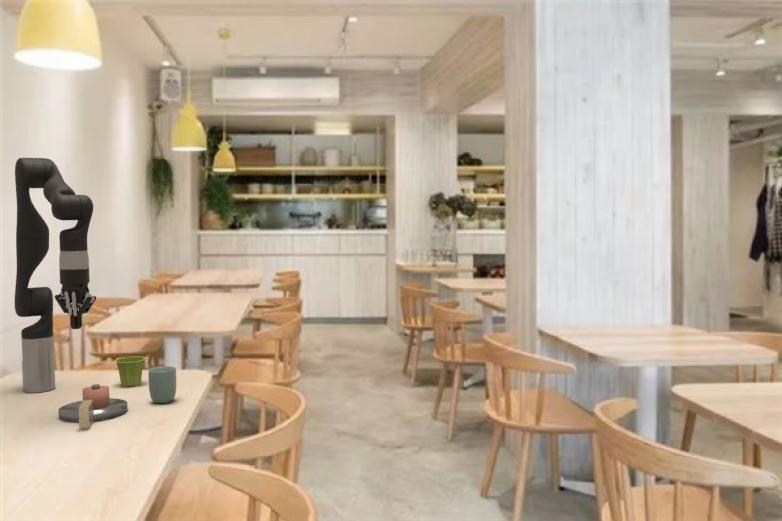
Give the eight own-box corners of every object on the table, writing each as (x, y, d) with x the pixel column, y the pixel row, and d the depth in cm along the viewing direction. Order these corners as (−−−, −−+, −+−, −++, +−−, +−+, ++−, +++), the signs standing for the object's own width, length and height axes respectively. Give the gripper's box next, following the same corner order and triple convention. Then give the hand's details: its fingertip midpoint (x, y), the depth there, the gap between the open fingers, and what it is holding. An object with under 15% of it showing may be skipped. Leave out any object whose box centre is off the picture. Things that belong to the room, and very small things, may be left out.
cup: (168, 405, 207) (167, 372, 206) (144, 404, 208) (143, 371, 208) (181, 399, 214) (180, 366, 214) (158, 398, 216) (157, 365, 215)
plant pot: (152, 383, 235) (151, 357, 235) (131, 389, 227) (130, 363, 226) (131, 380, 239) (130, 355, 239) (109, 386, 231) (108, 360, 230)
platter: (46, 431, 181) (45, 410, 181) (65, 406, 205) (64, 387, 205) (121, 425, 186) (120, 404, 185) (130, 401, 210) (129, 383, 210)
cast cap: (81, 410, 195) (80, 388, 194) (85, 403, 202) (84, 383, 201) (108, 408, 197) (107, 387, 196) (111, 401, 203) (110, 381, 203)
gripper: (44, 267, 194) (47, 329, 195) (83, 269, 189) (85, 332, 191) (65, 265, 201) (67, 325, 202) (103, 266, 196) (105, 328, 198)
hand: (76, 328), depth 196 cm, fingers closed
